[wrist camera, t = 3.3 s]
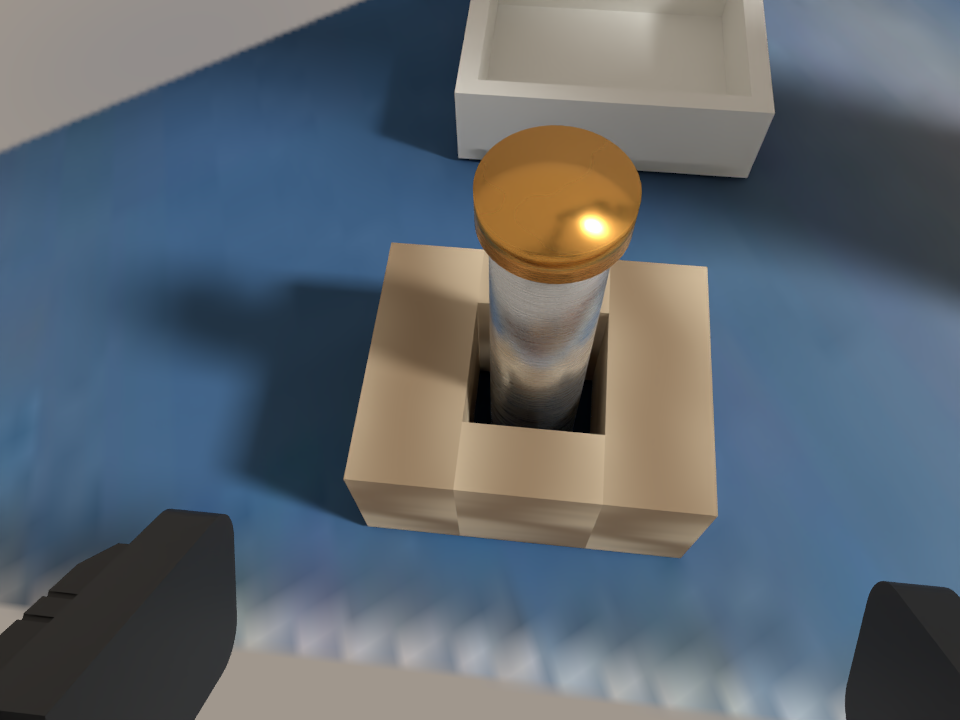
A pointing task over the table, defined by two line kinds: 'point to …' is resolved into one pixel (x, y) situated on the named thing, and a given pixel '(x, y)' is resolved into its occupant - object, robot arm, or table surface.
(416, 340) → the block
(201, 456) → the table surface
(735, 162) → the tray
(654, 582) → the table surface
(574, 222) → the lock pin
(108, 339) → the table surface
